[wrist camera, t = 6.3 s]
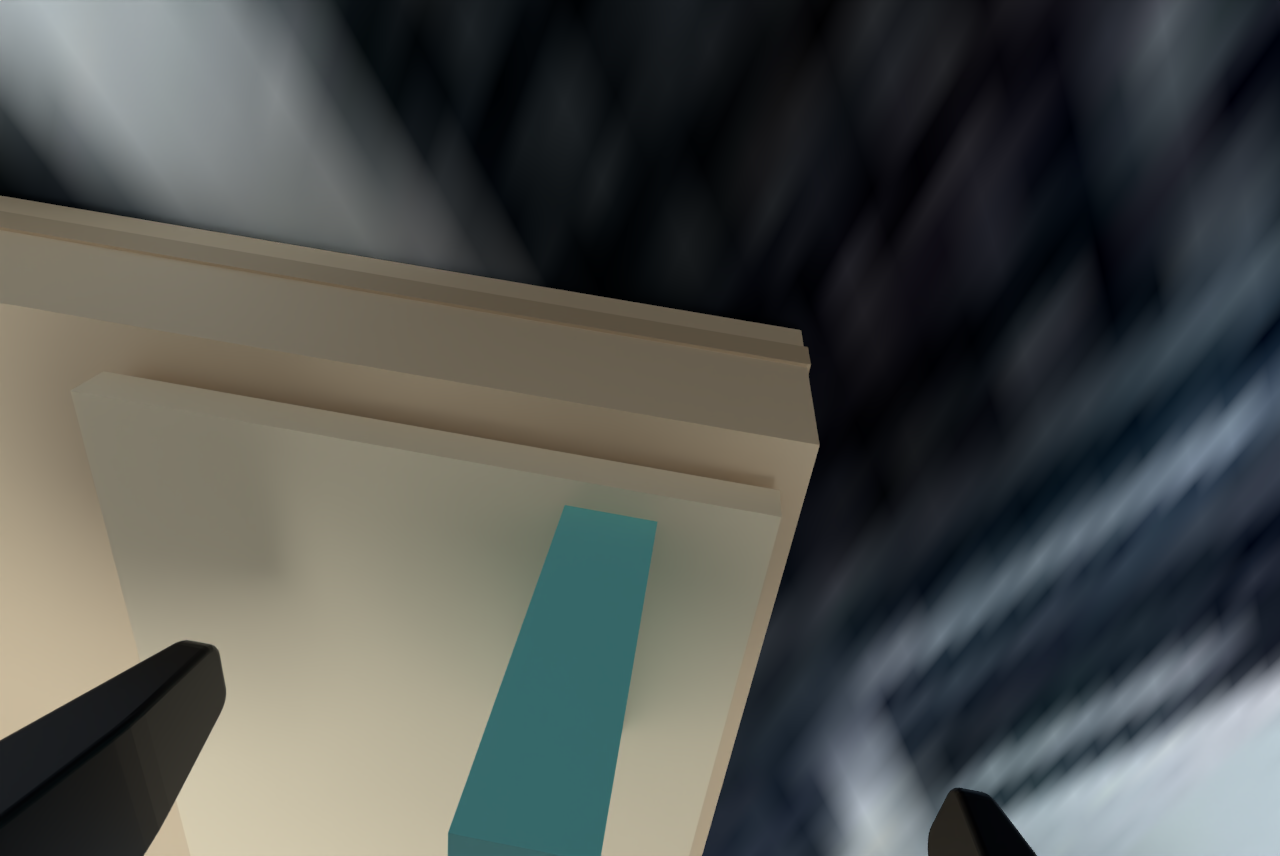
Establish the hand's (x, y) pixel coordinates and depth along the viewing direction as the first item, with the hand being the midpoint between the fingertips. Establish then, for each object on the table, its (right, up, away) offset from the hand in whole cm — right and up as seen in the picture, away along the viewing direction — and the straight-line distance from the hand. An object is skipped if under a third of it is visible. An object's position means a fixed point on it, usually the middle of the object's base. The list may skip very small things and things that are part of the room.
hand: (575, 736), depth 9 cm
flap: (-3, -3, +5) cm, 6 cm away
